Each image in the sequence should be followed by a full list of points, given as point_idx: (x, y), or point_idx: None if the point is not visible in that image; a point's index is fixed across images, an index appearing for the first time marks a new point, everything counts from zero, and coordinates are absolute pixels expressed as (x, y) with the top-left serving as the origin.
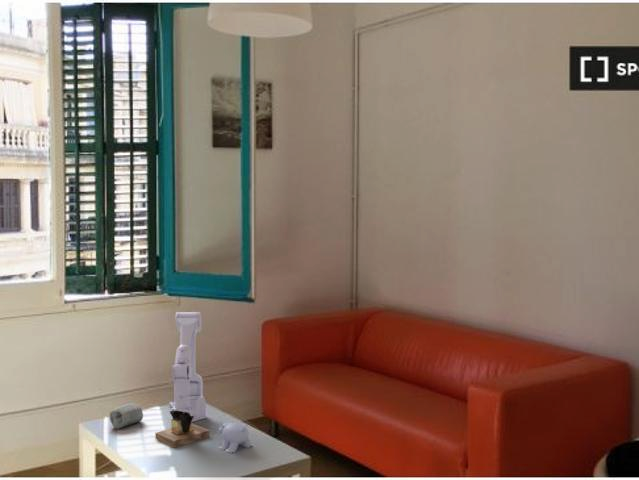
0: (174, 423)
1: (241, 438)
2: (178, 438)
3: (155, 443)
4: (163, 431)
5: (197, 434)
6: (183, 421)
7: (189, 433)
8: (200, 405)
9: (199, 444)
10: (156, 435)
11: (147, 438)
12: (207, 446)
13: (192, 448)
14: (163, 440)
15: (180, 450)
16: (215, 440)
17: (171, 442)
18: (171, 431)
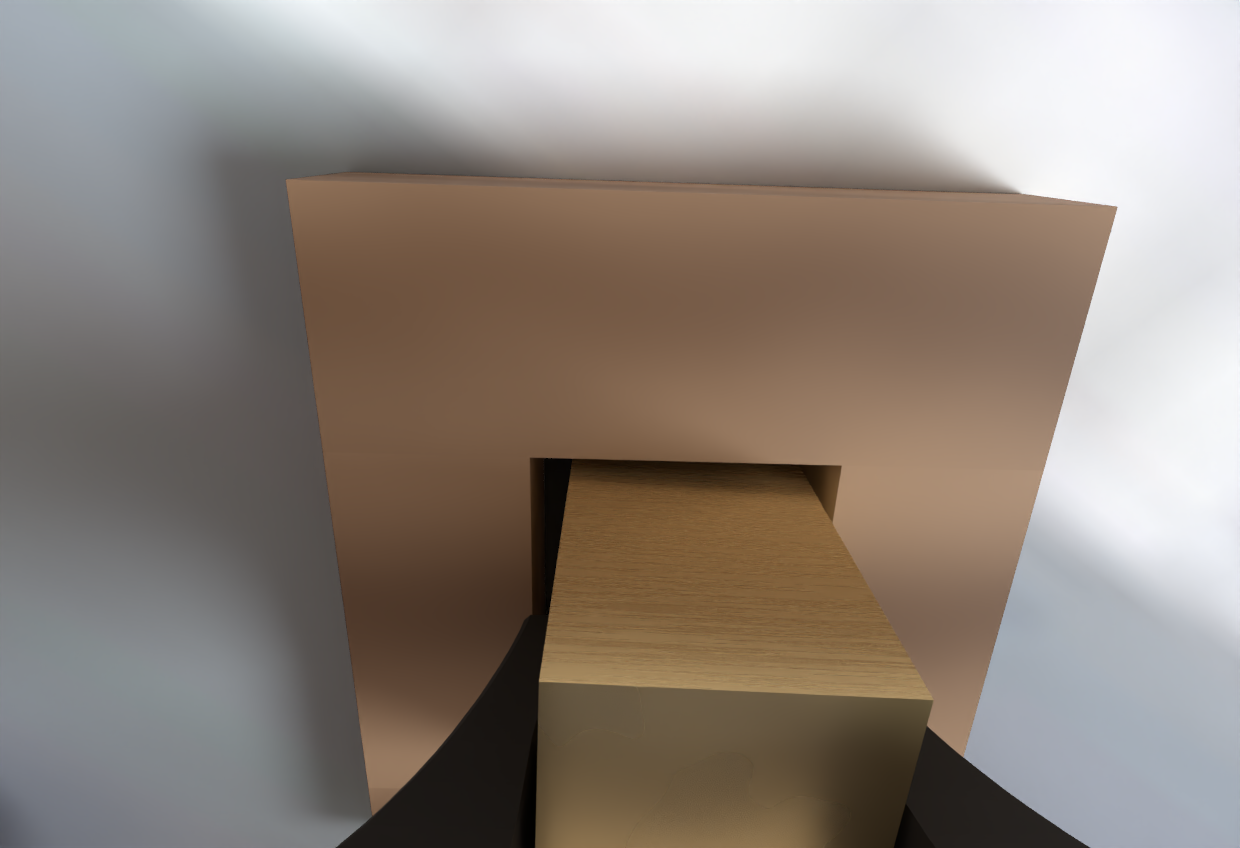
0: (721, 622)
1: None
2: (376, 357)
3: (851, 39)
4: (1007, 396)
5: (365, 728)
6: (409, 810)
7: (480, 664)
8: None
9: (215, 574)
10: (1037, 199)
11: (1220, 107)
12: (55, 602)
13: (105, 391)
14: (743, 188)
15: (135, 167)
16: (225, 796)
17: (423, 178)
18: (857, 510)
